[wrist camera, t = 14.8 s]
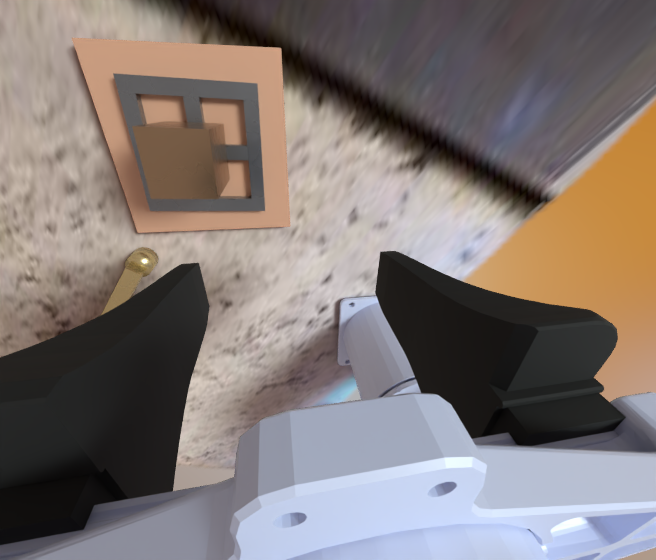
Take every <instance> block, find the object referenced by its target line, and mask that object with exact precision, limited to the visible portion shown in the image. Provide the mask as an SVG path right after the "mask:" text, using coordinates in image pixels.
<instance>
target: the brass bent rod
mask: <svg viewBox="0 0 656 560" xmlns="http://www.w3.org/2000/svg"><path fill="white" fill-rule="evenodd" d="M157 263H158V256H157V254H156V253H155V252H154V251H153V250H151V249H149V248H144V247H142V248H138V249H136V250H135V251H134V252H133V253H132V254H131V256H130V257H129V258H128V259H127V260H126V261H125V270H124V272H123V274H122V275H121V277H120V279H119V281H118V283H117V285H116V287H115V289H114V291H113V293H112V295H111V297H110V299H109V301H108V303H107V305H106V307H105V308H104V310H103V312H102V313H101V315H103V314H105V313H106V312H108V311H110V310H112V309H114V308H115V307H117V306H119V305H121V304H122V303H124V302H125V301H127V300H128V299H130V298H131V297H132V295H133V293H134V291H135V290H136V288H137V286H138V284H139V282H140V280H141V279H142V277H145V276H147V275H149V274H150V273H151V271H152V270H153V268H154V267H155V266H156V264H157ZM101 315H100V316H101Z"/></svg>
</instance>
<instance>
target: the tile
mask: <svg viewBox="0 0 656 560" xmlns="http://www.w3.org/2000/svg"><path fill="white" fill-rule="evenodd" d="M72 40H73V43H74V46H75V49H76V52H77V55H78V58H79V61H80V64H81V67H82V70H83V73H84V76H85V79H86V82H87V85H88V87H89V90H90V93H91V96H92V99H93V102H94V105H95V108H96V111H97V114H98V117H99V120H100V123H101V126H102V129H103V132H104V135H105V138H106V141H107V143H108V146H109V149H110V152H111V155H112V158H113V161H114V164H115V167H116V170H117V173H118V176H119V179H120V182H121V185H122V188H123V191H124V194H125V196H126V199H127V202H128V205H129V208H130V211H131V214H132V217H133V220H134V223H135V226H136V229H137V232H138V233H145V232H169V231H194V230H218V229H242V228H267V227H290V211H289V192H288V172H287V153H286V134H285V114H284V95H283V76H282V56H281V48H271V47H250V46H230V45H209V44H189V43H168V42H148V41H127V40H107V39H86V38H72ZM113 73H115V74H130V75H144V76H159V77H173V78H188V79H202V80H217V81H231V82H246V83H257V84H258V96H259V113H260V129H261V145H262V162H263V178H264V195H265V211H150V209H149V205H148V202H147V198H146V194H145V191H144V187H143V183H142V179H141V176H140V172H139V168H138V164H137V161H136V157H135V153H134V149H133V146H132V142H131V138H130V135H129V131H128V127H127V123H126V120H125V116H124V112H123V108H122V105H121V101H120V97H119V93H118V90H117V86H116V82H115V79H114V75H113ZM140 97H141V101H142V105H143V109H144V114H145V118H146V122H147V124H150V123H156V122H163V121H176V122H187V117H186V111H185V106H184V100H183V96H168V95H151V94H140ZM201 100H202V106H203V113H204V120H205V123H220V124H223V125H224V133H225V142H226V144H243V145H247V137H246V125H245V113H244V102H243V100H236V99H219V98H202V97H201ZM228 167H229V176H230V180H229V182H228V183H227V185H226V187H225V189H224V190H223V192H222V194H221V196H251V185H250V173H249V161H248V160H228Z"/></svg>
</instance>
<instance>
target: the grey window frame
mask: <svg viewBox="0 0 656 560" xmlns="http://www.w3.org/2000/svg"><path fill="white" fill-rule="evenodd" d="M113 75H114V79H115V82H116V86H117V90H118V93H119V97H120V101H121V105H122V108H123V112H124V116H125V120H126V123H127V127H128V131H129V135H130V138H131V142H132V146H133V149H134V153H135V157H136V161H137V164H138V168H139V172H140V176H141V179H142V183H143V187H144V191H145V194H146V198H147V202H148V205H149V209H150V211H265V195H264V178H263V162H262V145H261V129H260V113H259V96H258V84H257V83H246V82H231V81H217V80H202V79H188V78H173V77H159V76H144V75H130V74H115V73H113ZM140 94H151V95H168V96H183V100H184V106H185V111H186V117H187V122H176V121H163V122H156V123H150V124H147V122H146V118H145V114H144V109H143V105H142V101H141V97H140ZM201 97H202V98H219V99H236V100H243V102H244V113H245V125H246V137H247V145H243V144H226V142H225V133H224V125H223V124H220V123H205V120H204V113H203V106H202V100H201ZM228 160H248V161H249V173H250V185H251V196H221V194H222V192H223V190H224V189H225V187H226V185H227V183H228V182H229V180H230V176H229V167H228Z"/></svg>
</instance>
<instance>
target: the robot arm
mask: <svg viewBox="0 0 656 560" xmlns="http://www.w3.org/2000/svg"><path fill="white" fill-rule="evenodd" d="M375 293H376V296H371V297H358V298H346V299H343V300H341V302H340V313H339V334H338V355H337V362H338V364H339V365H340V366H345V365H351V367H352V370H353V374H354V377H355V380H356V384H357V387H358V390H359V393H360V397H361V400H355V401H348V402H341V403H334V404H327V405H320V406H313V407H306V408H299V409H292V410H288V411H284V412H281V413H278V414H275V415H272V416H268V417H265V418H263V419H262V420H260V421H259V422H258V423H257V424H255V425H254V426H253V427H252V428H250V429H249V430H248V431H247V432H245V433H244V434H243V435H242V436H241V437H240V440H239V444H238V449H237V453H236V463H235V474H234V477H233V478H230V479H228V480H225V481H222V482H219V483H217V484H212V485H207V486H200V487H195V488H189V489H183V490H178V491H173V485H174V476H175V469H176V461H177V454H178V447H179V440H180V434H181V427H182V421H183V415H184V409H185V404H186V399H187V393H188V388H189V384H190V380H191V376H192V373H193V370H194V367H195V364H196V360H197V357H198V354H199V351H200V348H201V344H202V341H203V338H204V334H205V331H206V327H207V321H208V313H209V303H208V299H207V295H206V291H205V287H204V282H203V278H202V274H201V270H200V266H199V263H191V264H181V265H179V266H177V267H176V268H174V269H173V270H171V271H170V272H168V273H167V274H166V275H164V276H163V277H161V278H160V279H158V280H157V281H156V282H154V283H153V284H151V285H150V286H148V287H147V288H146V289H144V290H143V291H141V292H139V293H138V294H136V295H135V296H133V297H132V298H130V299H128V300H127V301H125V302H124V303H122V304H121V305H119V306H117V307H115V308H114V309H112V310H110V311H108V312H106V313H105V314H103V315H101V316H99V317H97V318H95V319H93V320H91V321H89V322H87V323H85V324H83V325H81V326H78V327H76V328H74V329H72V330H69V331H67V332H65V333H63V334H60V335H58V336H56V337H54V338H51V339H49V340H46V341H44V342H41V343H39V344H36V345H34V346H31V347H28V348H26V349H23V350H20V351H17V352H15V353H12V354H9V355H6V356H4V357H1V358H0V560H618V559H621V558H624V557H627V556H630V555H633V554H636V553H639V552H642V551H646V550H649V549H652V548H656V393H653V392H647V393H641V394H635V395H629V396H623V397H619V398H616V399H615V400H613V401H611V402H608V401H607V400H606V399H605V398H604V397H603V396H602V395H600V394H599V393H600V392H602V391H603V390H604V387H603V385H602V384H600V383H599V382H598V381H597V380H596V379H594V376H595V375H596V374H597V372H598V371H599V369H600V368H601V367H602V365H603V364H604V363H605V361H606V360H607V359H608V357H609V356H610V355H611V353H612V351H613V350H614V348H615V346H616V342H617V339H618V336H617V329H616V328H615V327H614V325H613V324H612V323H610V322H608V321H607V320H606V319H604V318H603V317H601V316H600V315H598V314H597V313H595V312H593V311H591V310H587V309H580V308H573V307H565V306H558V305H550V304H545V303H540V302H535V301H529V300H524V299H519V298H515V297H511V296H507V295H503V294H499V293H496V292H492V291H488V290H485V289H482V288H479V287H476V286H473V285H470V284H468V283H465V282H462V281H459V280H457V279H455V278H452V277H450V276H448V275H445V274H443V273H441V272H439V271H436V270H434V269H432V268H430V267H428V266H426V265H424V264H422V263H420V262H418V261H416V260H414V259H412V258H410V257H408V256H406V255H404V254H401V253H399V252H396V251H387V252H380V260H379V268H378V276H377V284H376V291H375ZM350 303H353V304H352V305H349V304H350ZM347 360H348V361H347Z"/></svg>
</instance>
